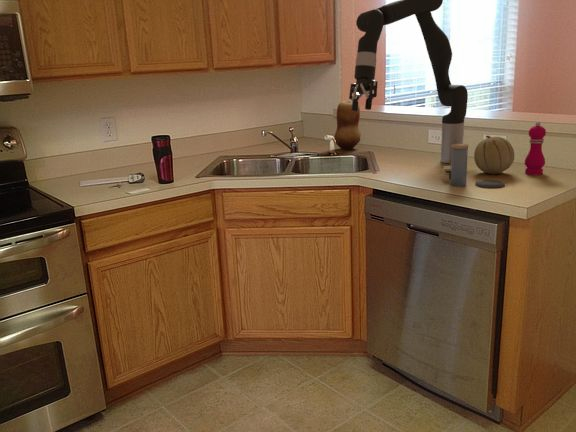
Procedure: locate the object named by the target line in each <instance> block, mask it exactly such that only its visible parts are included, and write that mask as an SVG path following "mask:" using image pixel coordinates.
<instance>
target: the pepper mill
mask: <svg viewBox="0 0 576 432" xmlns="http://www.w3.org/2000/svg"><path fill="white" fill-rule="evenodd" d="M546 135H547V130H546V128H545V127H544V126H542V125H541V121H536V122H535V125H533V126H532V127H530V129H529V130H528V136H529V137H530V138H529V143H530V149H529V151H528V153H527V155H526V156H525V159H524V165H525V166H526V168H525V170H524V171H525V172H524V174H525V175H528V176H541V175H543V174H544V169H543V167H544V166H545V165H546V159H545V156H544V153H543V151H542V147H543V144H544V139H545V137H546Z"/></svg>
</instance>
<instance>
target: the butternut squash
mask: <svg viewBox="0 0 576 432" xmlns="http://www.w3.org/2000/svg"><path fill="white" fill-rule="evenodd" d="M360 112H361V107H360V104H359V103H358V111H352V100H343V101H341V102H339V104H338V105H337V109H336V130H335V132H334V133H335V134H334V136H333V137H334V141H335V140H336V142H335V144H336V145H337V146H338V147H339V148H340V149H341V150H342V149H346V150H351V149H354V147H356V146H357V145H358V144H359V143H360V141H361V132H360V129H359V122H360V119H361V118H360V117H361V113H360Z"/></svg>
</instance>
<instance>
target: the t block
mask: <svg viewBox="0 0 576 432" xmlns="http://www.w3.org/2000/svg"><path fill="white" fill-rule="evenodd" d="M442 173H443V175H442V177H443V178H442V181H443V182H446V183H447V182H449V183H450V182H451V165H443V172H442Z"/></svg>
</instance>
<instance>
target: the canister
mask: <svg viewBox="0 0 576 432" xmlns="http://www.w3.org/2000/svg"><path fill="white" fill-rule="evenodd" d="M451 148H452V156H451V163H450V164H451V165H450V166H451V182H449V183H450V184H449V185H450V186H451V187H457V188H462V187H466V186H467V175H468V153H469V144H468V143H463V144H452V145H451Z"/></svg>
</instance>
